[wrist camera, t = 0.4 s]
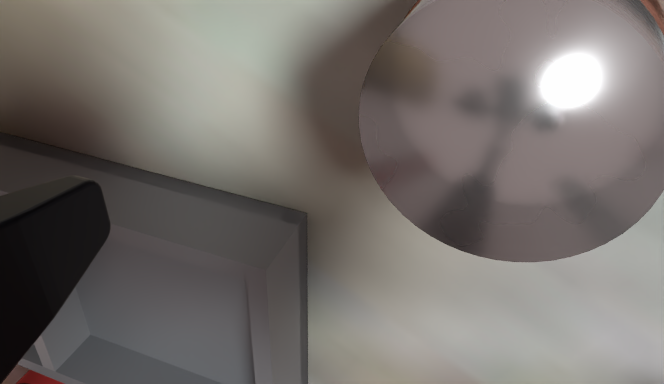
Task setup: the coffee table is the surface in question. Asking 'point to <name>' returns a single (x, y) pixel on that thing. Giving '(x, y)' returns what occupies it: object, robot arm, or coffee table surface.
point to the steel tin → (519, 122)
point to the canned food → (37, 379)
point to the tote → (173, 281)
